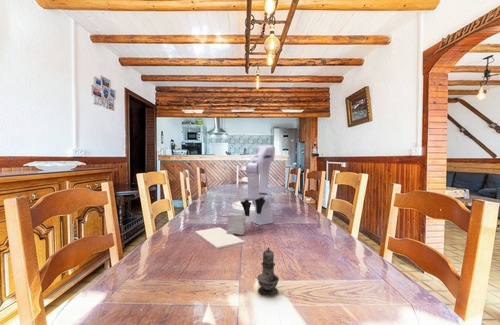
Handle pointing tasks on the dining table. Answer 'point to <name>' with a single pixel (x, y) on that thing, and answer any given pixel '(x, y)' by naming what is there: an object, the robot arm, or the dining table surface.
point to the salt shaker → (268, 275)
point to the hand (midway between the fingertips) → (253, 214)
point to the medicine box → (236, 224)
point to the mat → (219, 237)
